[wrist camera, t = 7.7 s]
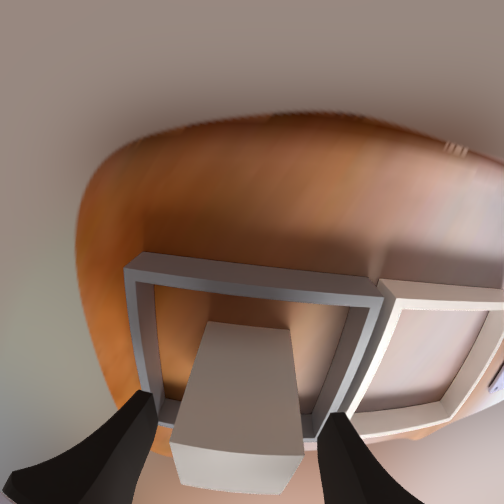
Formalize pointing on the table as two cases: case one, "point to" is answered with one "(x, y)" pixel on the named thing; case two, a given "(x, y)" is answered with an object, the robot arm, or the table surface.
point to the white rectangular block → (240, 412)
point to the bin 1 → (257, 286)
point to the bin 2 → (395, 299)
